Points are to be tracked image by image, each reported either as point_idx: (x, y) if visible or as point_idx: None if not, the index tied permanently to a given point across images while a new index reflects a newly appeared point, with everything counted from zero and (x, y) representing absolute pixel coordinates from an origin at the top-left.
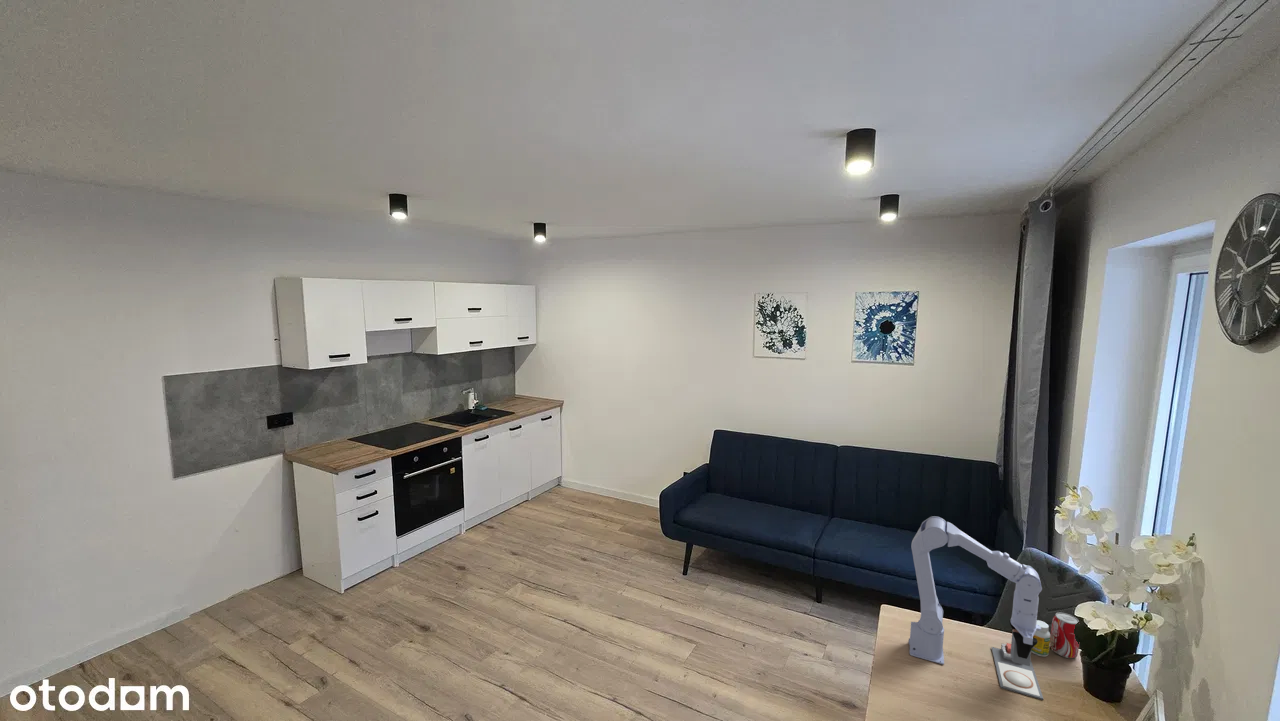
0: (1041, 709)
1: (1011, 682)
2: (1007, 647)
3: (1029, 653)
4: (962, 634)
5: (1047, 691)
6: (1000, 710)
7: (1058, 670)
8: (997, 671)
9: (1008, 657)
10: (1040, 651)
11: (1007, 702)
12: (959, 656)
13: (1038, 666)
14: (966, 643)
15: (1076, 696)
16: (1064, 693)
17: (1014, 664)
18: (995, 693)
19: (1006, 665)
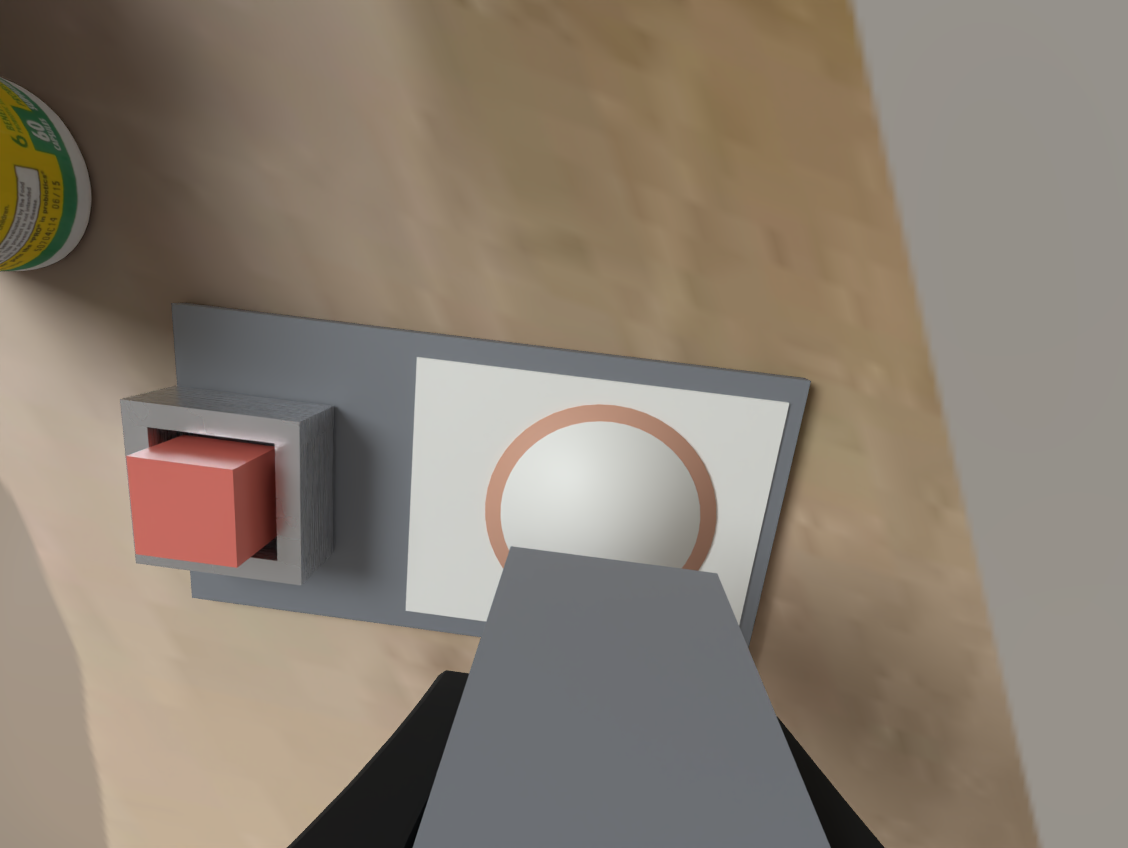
0: (935, 432)
1: None
2: (214, 557)
3: (782, 762)
4: (123, 749)
5: (660, 297)
6: (1014, 729)
7: (258, 66)
8: None
9: (320, 529)
10: (41, 178)
11: (907, 660)
12: None
13: (285, 258)
14: (237, 750)
15: (646, 22)
16: (637, 138)
17: (378, 483)
18: (819, 711)
19: (428, 555)
